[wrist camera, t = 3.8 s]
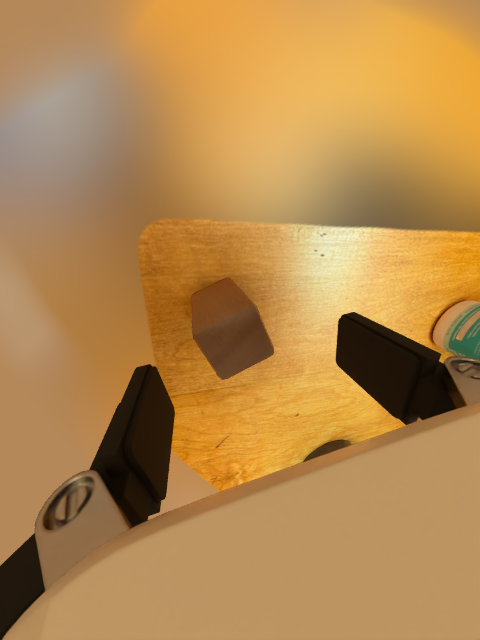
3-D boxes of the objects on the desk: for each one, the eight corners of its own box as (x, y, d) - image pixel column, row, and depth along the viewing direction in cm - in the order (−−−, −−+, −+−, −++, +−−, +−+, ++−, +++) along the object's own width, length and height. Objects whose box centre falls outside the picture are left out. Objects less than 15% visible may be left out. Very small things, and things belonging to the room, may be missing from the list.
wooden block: (245, 311, 19) (278, 355, 12) (209, 329, 19) (221, 384, 12) (228, 275, 18) (255, 302, 10) (189, 294, 17) (189, 335, 10)
